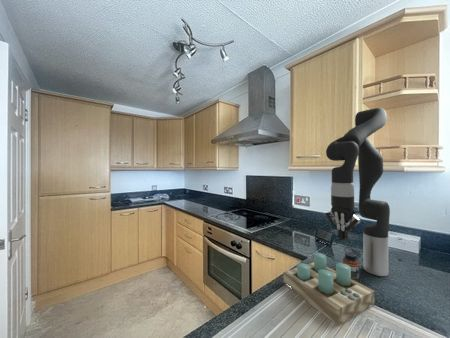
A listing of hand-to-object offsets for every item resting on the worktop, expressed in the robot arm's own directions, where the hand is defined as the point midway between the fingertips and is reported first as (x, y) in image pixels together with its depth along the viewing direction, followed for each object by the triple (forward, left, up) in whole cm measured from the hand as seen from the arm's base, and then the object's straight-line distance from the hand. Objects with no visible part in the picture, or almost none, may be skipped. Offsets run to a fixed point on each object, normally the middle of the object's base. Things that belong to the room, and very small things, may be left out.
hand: (342, 239), depth 73 cm
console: (+5, -4, -21) cm, 22 cm away
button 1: (+10, -10, -18) cm, 23 cm away
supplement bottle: (-13, -5, -22) cm, 26 cm away
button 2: (0, -10, -16) cm, 19 cm away
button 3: (+10, 0, -16) cm, 19 cm away
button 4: (0, 0, -16) cm, 16 cm away
